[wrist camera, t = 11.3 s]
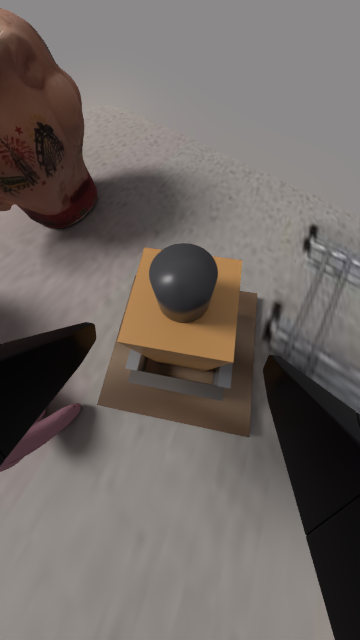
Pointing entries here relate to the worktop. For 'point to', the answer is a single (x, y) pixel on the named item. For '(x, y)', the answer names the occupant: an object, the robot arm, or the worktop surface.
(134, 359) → the holder
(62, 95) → the decorative planter
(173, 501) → the worktop surface
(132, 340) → the plug
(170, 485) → the worktop surface
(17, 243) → the worktop surface
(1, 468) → the video game controller
